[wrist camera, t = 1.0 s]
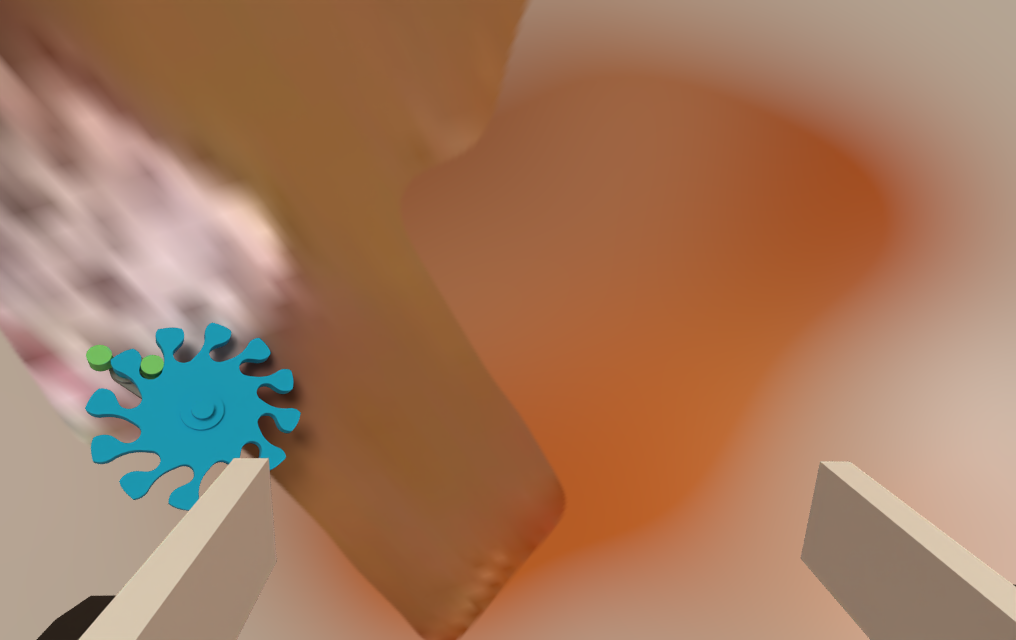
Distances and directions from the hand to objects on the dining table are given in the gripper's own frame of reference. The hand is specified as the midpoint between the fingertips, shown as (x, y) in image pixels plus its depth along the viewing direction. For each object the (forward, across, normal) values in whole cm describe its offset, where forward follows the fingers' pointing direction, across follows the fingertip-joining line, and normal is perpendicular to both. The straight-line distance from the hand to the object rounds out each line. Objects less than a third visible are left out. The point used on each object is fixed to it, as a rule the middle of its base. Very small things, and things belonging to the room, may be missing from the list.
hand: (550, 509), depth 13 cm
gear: (+21, -17, -5) cm, 27 cm away
